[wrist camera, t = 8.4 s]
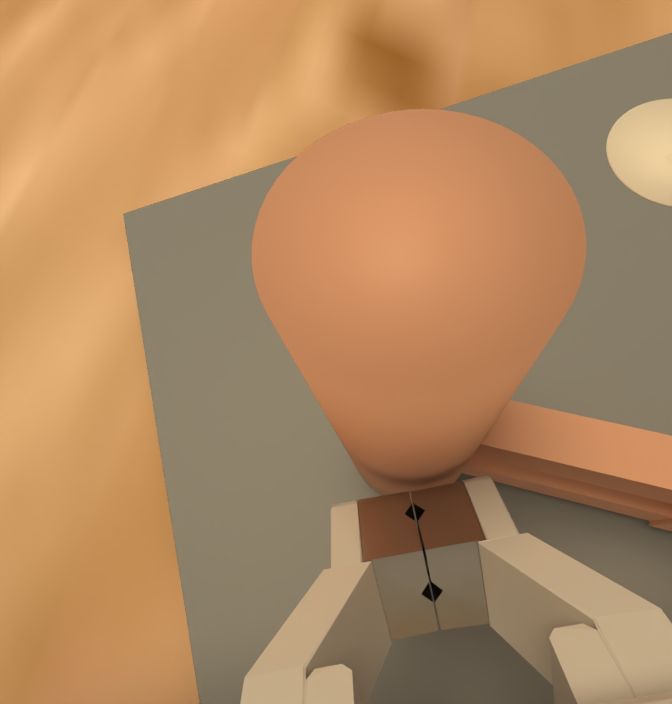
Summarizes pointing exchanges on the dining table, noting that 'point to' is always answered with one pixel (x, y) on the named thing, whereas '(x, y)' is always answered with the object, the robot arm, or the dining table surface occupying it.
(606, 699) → the robot arm
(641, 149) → the board
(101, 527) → the dining table surface
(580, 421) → the hinged fence section
